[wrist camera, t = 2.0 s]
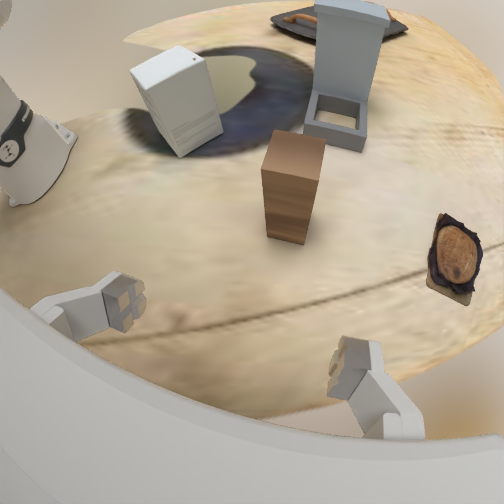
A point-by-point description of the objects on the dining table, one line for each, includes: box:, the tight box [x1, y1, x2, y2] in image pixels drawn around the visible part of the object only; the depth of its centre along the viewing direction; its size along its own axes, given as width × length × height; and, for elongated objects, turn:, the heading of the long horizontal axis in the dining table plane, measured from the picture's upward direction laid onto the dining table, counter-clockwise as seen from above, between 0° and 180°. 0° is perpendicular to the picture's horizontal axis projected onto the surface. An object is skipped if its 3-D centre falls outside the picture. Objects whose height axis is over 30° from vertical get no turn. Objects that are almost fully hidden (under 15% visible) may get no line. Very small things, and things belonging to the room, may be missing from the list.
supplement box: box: [130, 45, 223, 158], centre depth 30 cm, size 7×7×13 cm
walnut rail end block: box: [261, 130, 326, 245], centre depth 24 cm, size 4×4×12 cm
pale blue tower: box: [303, 0, 391, 152], centre depth 27 cm, size 14×9×17 cm, turn 164°
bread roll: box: [426, 213, 483, 306], centre depth 25 cm, size 11×8×4 cm
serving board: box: [270, 1, 408, 39], centre depth 45 cm, size 39×23×6 cm, turn 132°
